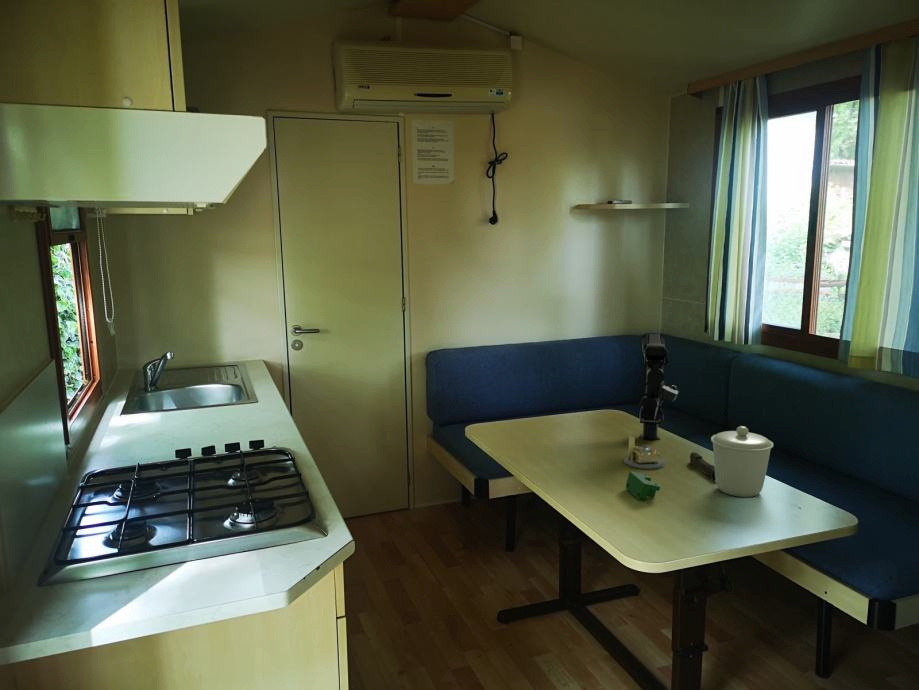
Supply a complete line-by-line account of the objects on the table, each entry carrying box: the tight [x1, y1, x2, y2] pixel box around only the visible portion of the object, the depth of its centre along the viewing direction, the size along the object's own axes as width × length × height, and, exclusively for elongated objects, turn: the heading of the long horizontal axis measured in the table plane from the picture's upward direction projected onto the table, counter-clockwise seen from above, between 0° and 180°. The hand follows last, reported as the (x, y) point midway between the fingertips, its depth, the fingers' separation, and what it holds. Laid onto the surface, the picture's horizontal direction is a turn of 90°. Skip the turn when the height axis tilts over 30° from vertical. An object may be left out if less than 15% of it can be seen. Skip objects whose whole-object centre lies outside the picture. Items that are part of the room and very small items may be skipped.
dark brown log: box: [689, 451, 716, 482], centre depth 239 cm, size 19×4×5 cm, turn 6°
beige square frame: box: [627, 435, 661, 463], centre depth 247 cm, size 8×10×8 cm
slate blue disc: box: [623, 446, 666, 470], centre depth 247 cm, size 14×14×6 cm
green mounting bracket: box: [625, 471, 661, 501], centre depth 218 cm, size 12×6×9 cm, turn 3°
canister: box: [710, 425, 774, 498], centre depth 219 cm, size 18×18×21 cm
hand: (652, 420), depth 259 cm, fingers closed
